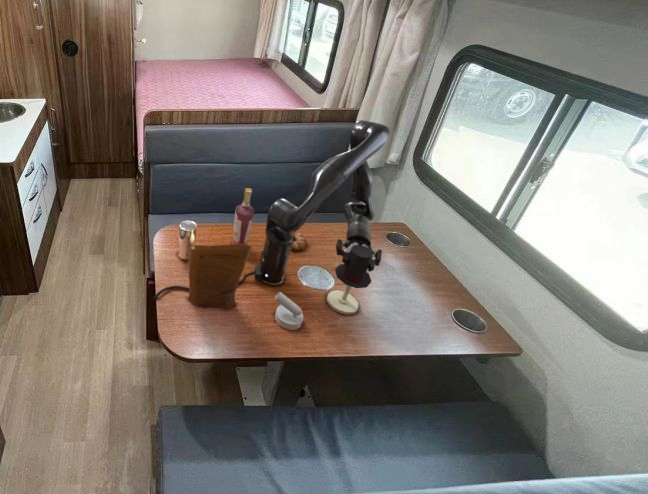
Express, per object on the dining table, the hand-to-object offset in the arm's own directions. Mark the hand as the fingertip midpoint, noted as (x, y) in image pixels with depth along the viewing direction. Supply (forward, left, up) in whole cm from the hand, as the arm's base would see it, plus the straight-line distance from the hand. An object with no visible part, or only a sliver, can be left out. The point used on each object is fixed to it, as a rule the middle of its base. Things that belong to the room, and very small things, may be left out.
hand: (358, 266), depth 126 cm
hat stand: (0, +2, -19) cm, 20 cm away
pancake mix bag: (-45, -8, -20) cm, 49 cm away
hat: (+1, +2, -6) cm, 7 cm away
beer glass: (-57, +15, -20) cm, 62 cm away
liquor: (-36, +25, -20) cm, 48 cm away
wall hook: (-20, -9, -20) cm, 29 cm away
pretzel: (-14, +32, -20) cm, 40 cm away
